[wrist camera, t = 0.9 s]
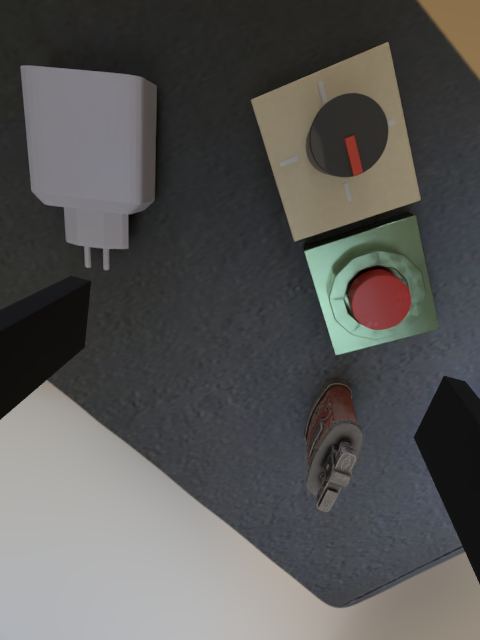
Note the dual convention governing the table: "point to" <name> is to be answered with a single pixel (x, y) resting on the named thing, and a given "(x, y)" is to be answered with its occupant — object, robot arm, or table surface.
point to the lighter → (331, 442)
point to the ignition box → (359, 257)
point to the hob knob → (347, 135)
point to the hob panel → (325, 190)
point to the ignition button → (379, 299)
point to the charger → (91, 150)
